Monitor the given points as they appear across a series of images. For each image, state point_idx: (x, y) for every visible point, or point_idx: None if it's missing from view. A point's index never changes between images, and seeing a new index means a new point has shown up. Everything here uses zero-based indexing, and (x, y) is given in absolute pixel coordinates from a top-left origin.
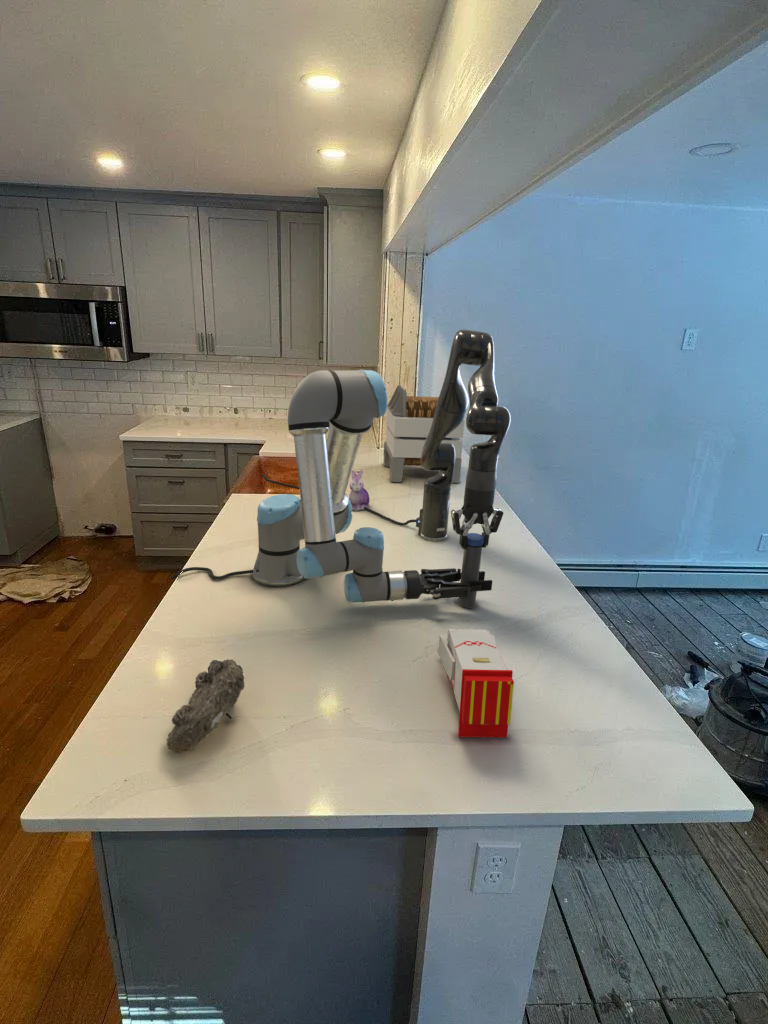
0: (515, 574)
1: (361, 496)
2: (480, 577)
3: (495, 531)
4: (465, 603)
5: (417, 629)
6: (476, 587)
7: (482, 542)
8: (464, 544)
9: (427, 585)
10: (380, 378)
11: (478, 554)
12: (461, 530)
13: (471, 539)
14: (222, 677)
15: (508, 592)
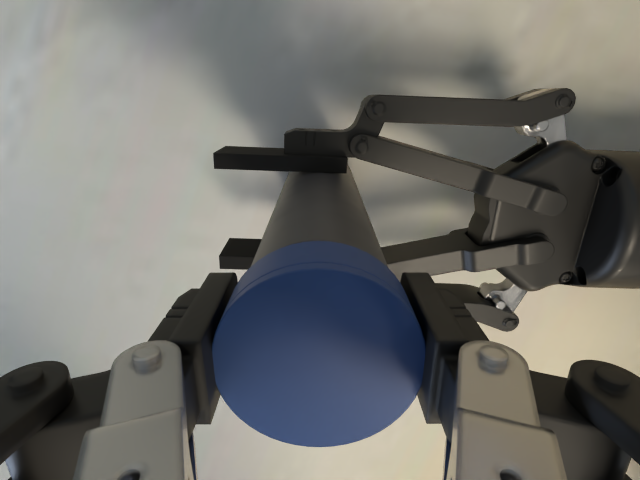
0: (60, 360)
1: None
2: (246, 246)
3: (30, 366)
4: None
5: (593, 19)
6: (313, 130)
7: (253, 273)
8: (435, 290)
9: (571, 167)
10: None
11: (296, 222)
12: (557, 412)
13: (390, 297)
14: None
15: (125, 242)
